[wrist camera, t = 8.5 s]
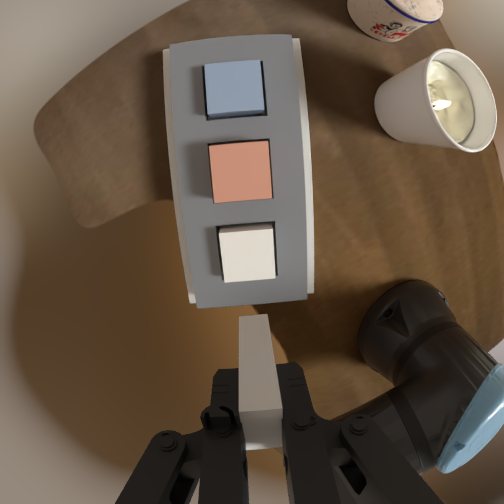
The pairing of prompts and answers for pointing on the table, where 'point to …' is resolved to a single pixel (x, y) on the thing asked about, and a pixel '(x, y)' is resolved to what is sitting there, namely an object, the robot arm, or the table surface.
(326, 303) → the table surface
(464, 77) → the candle holder
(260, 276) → the white key
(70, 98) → the table surface
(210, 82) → the blue key
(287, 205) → the key console
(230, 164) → the terracotta key
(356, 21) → the teacup with lid
